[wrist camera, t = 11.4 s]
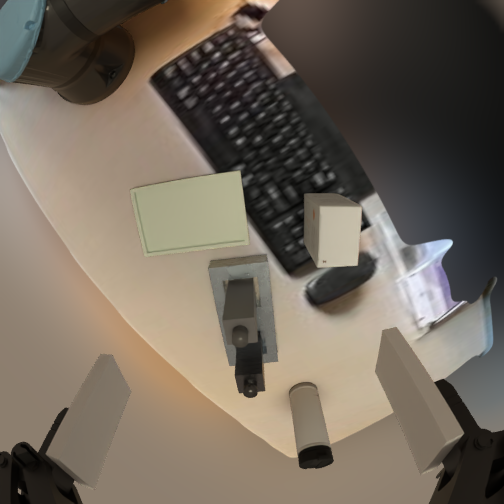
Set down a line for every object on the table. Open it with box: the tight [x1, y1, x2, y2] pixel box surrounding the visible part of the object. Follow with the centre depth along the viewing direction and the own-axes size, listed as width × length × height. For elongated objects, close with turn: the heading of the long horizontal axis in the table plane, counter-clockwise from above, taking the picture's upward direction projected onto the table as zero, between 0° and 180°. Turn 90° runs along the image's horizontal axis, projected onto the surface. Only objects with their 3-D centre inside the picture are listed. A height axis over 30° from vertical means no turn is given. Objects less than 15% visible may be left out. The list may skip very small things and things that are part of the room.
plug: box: [222, 278, 258, 348], centre depth 40 cm, size 4×4×14 cm
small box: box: [304, 193, 362, 267], centre depth 38 cm, size 8×6×10 cm
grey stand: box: [208, 255, 278, 398], centre depth 42 cm, size 20×9×15 cm, turn 7°
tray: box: [130, 170, 250, 257], centre depth 42 cm, size 11×17×1 cm, turn 97°
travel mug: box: [289, 383, 334, 469], centre depth 47 cm, size 6×7×20 cm
